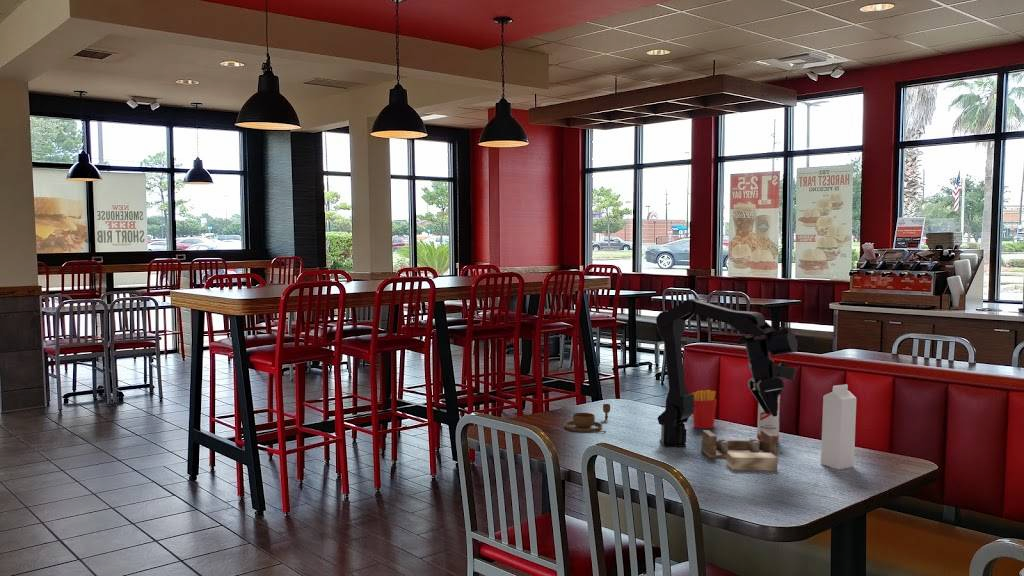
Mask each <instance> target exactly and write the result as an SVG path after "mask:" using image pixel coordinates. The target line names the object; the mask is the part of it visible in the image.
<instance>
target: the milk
mask: <svg viewBox="0 0 1024 576" xmlns="http://www.w3.org/2000/svg"><path fill="white" fill-rule="evenodd" d="M848 386H849V385H848V384H847V383H846V384H845V383H844V384H838V385H833V386H832V391H831V392H828V393H826V394H824V395H823V398H822V421H821V422H822V424H821V447H820V448H821V449H820V451H821V452H820V465H822V466H825V465H826V466H825V467H828V466H829V468H831V467H832V469H835V468H836V469H835V470H838V469H839V470H840V469H841V470H845V468H846V469H849V468H854V466H855V448H856V446H855V442H856V423H857V422H856V421H857V419H856V418H857V417H856V416H857V397H856V396H855V395H854V394H853V393H852V392H851V391H850V390H848ZM841 470H840V471H841Z"/></svg>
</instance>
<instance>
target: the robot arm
mask: <svg viewBox="0 0 1024 576" xmlns="http://www.w3.org/2000/svg"><path fill="white" fill-rule="evenodd" d="M694 315H697V316H700V317H704V318H707V319H711V320H713V321H717V322H720V323H723V324H727V325H729V326H730V327H731V328H733V329H734V330H735V331H738V332H739V333H742V334H743V335H742V334H741V336H740V338H739V339H738V341H737V342H736V344H737V345H745V348H746V354H747V359H748V363H747V364H748V368H750V373H751V376H752V377H751V378H749V380H748V381H747V387H748V389H749V390H750V392H751V394H752V395H753V396H754V398H755V399H756V401H757V403H759V404H760V406H761V407H762V409H763V410H764V411H765V413H766V414H770V413H771V414H772V416H773V417H774V416H777V407H778V395H779V394H780V395H781V393H782V392H783V390H784V388H785V385H784V381H783V379H786V380H792V381H795V376H796V370H797V368H795V367H789V366H788V364H787V363H782V362H780V363H779V364H778V365H776V364H775V361H774V360H773V359H771V355H770V354H772V355H773V356H779V355H786V354H793V353H796V352H798V348H799V347H798V339H797V338H796V336H795V334H794V333H793V331H792V329H791V327H790V326H789V327H784V328H783V327H782V328H781V329H777V330H776V329H775V328H773V326H771V325H770V324H769V323H768V322H767V320H766V318H765V316H764V315H763V314H762V313H760V312H758V311H748V310H746V311H745V310H734V309H732V308H731V309H730V308H727V307H723V306H721V305H716V304H712V303H709V302H705V301H702V300H699V299H698V298H688V299H686V300H685V301H684V302H682V303H680V304H678V305H677V306H675V307H672V308H670V309H669V310H664V311H661V312H659V314H658V315H657V316H656V321H655V323H656V326H657V330H658V333H659V336H660V337H661V339H662V340H663V343H664V353H665V363H666V372H667V373H666V374H667V380H668V381H667V382H668V392H667V395H666V399H665V410H664V411H663V412H662V413H661V414H659V416H657V421H658V425H660V427H661V428H660V429H661V430H660V431H661V432H660V434H661V435H660V439H659V442H660V444H662V445H663V447H687V444H686V443H687V428H686V425H685V423H687V422H688V420H689V418H690V417H691V416H692V415H693V411H694V408H695V405H694V395H693V394H692V393H690V394H689V392H688V390H687V388H686V380H685V371H684V370H685V369H684V359H683V351H682V341H681V340H682V337H683V335H684V334H683V333H684V331H685V322H686V321H687V320H690V319H691V318H692V317H693V316H694ZM748 335H752V336H748ZM762 336H765V337H764V338H763V337H762ZM761 337H762V338H761ZM781 378H783V379H781Z"/></svg>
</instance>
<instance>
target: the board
mask: <svg viewBox="0 0 1024 576" xmlns="http://www.w3.org/2000/svg"><path fill="white" fill-rule="evenodd" d="M778 458H779V457H776V456H775V455H773V454H772V453H737V452H727V458H726V465H727V467H729V469H731V470H732V469H737V470H736V471H778ZM739 469H740V470H739Z"/></svg>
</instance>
